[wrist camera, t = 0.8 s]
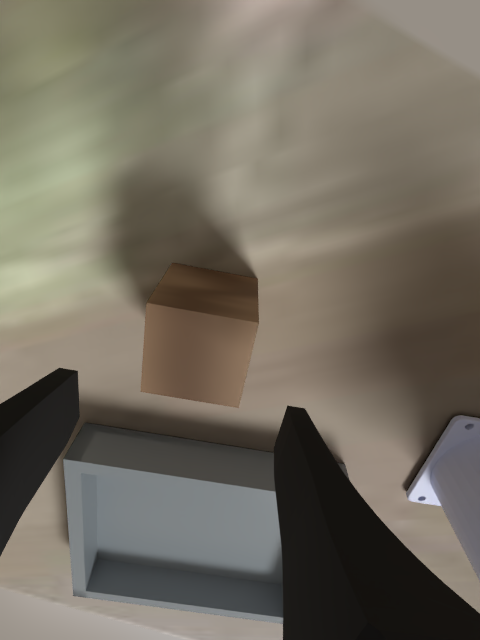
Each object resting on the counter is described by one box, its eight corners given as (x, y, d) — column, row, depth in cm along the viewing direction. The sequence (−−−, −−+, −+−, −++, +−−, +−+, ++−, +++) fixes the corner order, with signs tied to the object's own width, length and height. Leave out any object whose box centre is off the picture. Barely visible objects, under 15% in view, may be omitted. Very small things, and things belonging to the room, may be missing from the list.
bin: (344, 464, 24) (356, 504, 22) (288, 584, 32) (291, 625, 29) (84, 422, 24) (63, 459, 21) (88, 556, 31) (73, 595, 28)
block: (257, 278, 18) (258, 323, 14) (241, 349, 21) (238, 407, 16) (172, 262, 18) (146, 302, 14) (165, 335, 20) (140, 391, 16)
